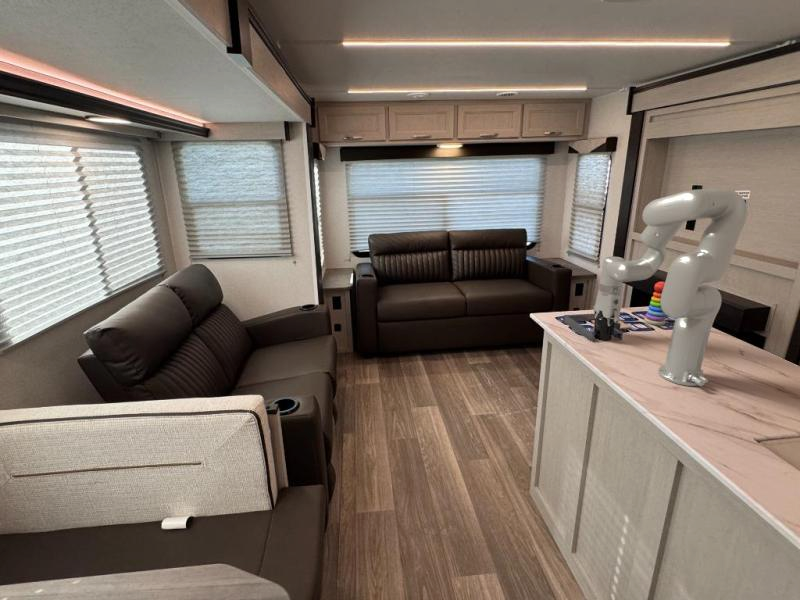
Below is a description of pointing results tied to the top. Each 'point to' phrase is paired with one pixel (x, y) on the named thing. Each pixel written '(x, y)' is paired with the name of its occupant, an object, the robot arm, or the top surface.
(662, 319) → the stacking toy
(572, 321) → the bent rails
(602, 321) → the supplement bottle
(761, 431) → the top surface
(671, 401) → the top surface
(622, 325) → the end pad
